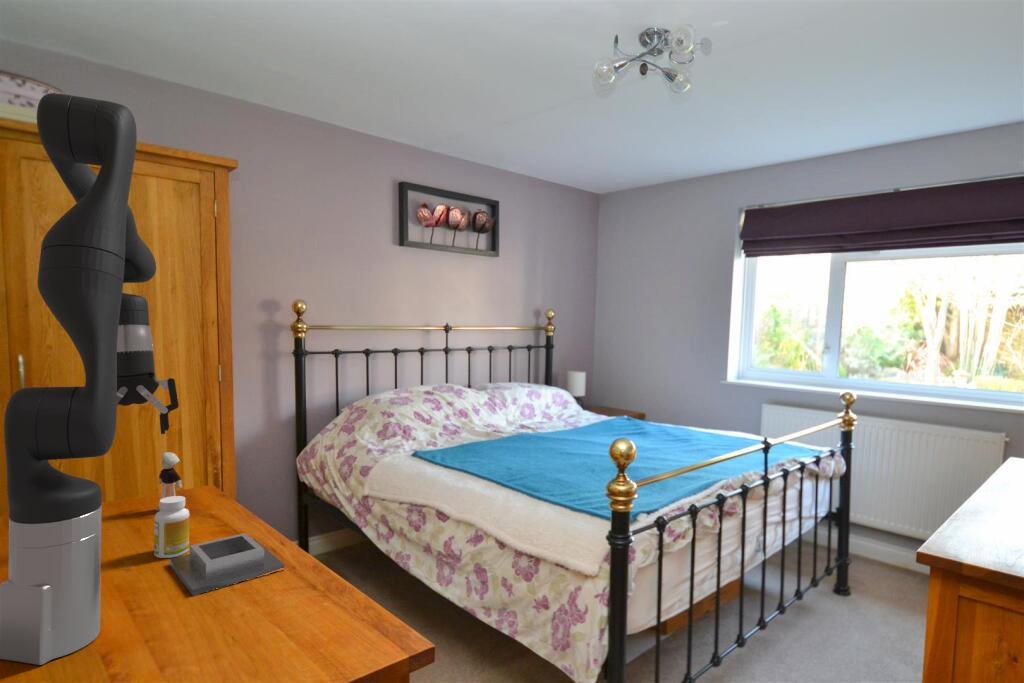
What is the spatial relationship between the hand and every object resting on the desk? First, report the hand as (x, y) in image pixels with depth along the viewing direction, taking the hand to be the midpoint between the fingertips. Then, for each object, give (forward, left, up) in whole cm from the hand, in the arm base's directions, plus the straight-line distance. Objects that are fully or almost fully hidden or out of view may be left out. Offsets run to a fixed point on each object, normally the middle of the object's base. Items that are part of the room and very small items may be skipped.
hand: (136, 437), depth 104 cm
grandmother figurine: (+15, +6, -20) cm, 25 cm away
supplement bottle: (-3, -10, -20) cm, 22 cm away
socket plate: (-6, -23, -19) cm, 31 cm away
